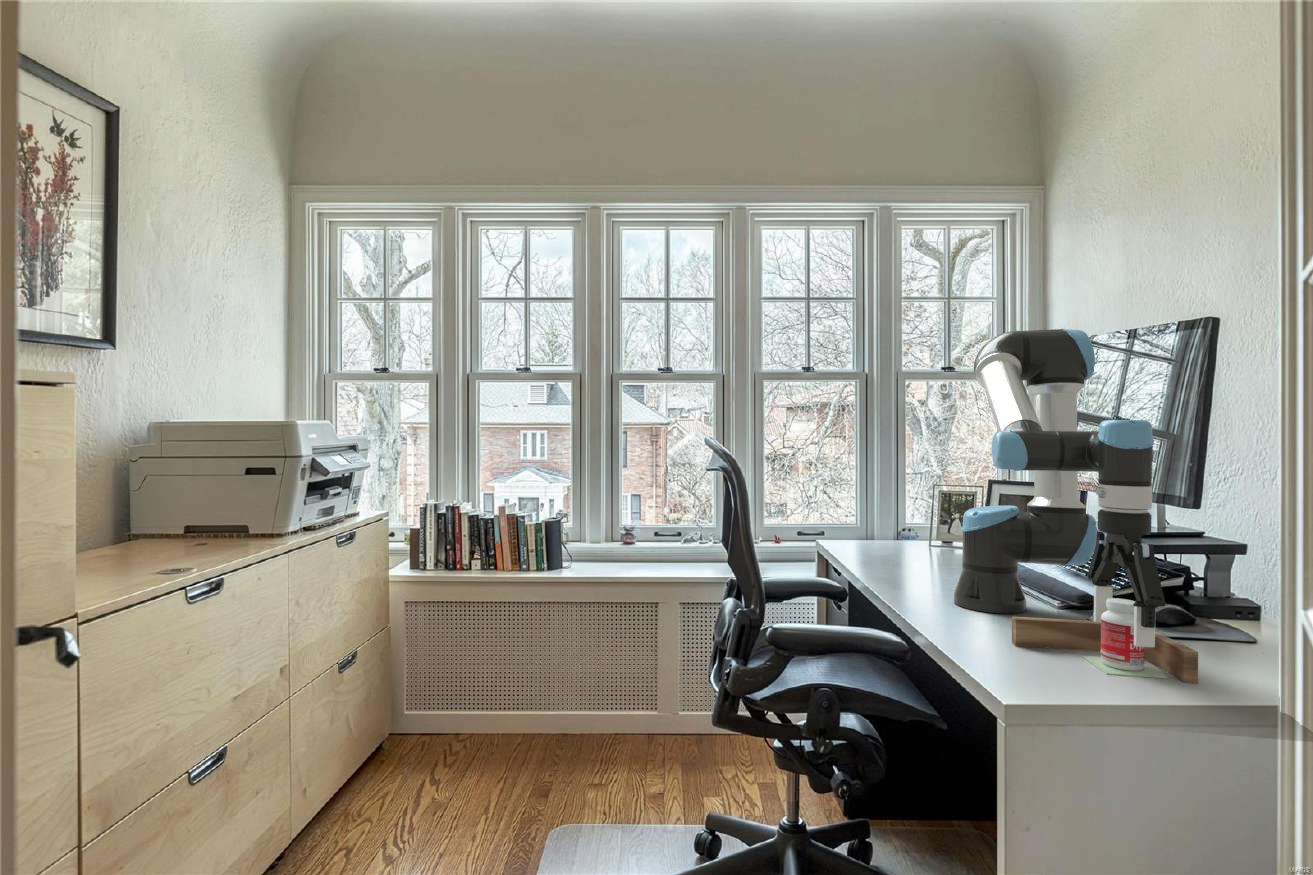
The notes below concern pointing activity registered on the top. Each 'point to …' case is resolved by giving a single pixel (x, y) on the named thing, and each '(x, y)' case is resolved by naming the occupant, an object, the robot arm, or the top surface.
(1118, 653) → the pill bottle
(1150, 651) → the corner barrier
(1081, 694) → the top surface
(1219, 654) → the top surface
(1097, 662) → the pad
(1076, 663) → the top surface
